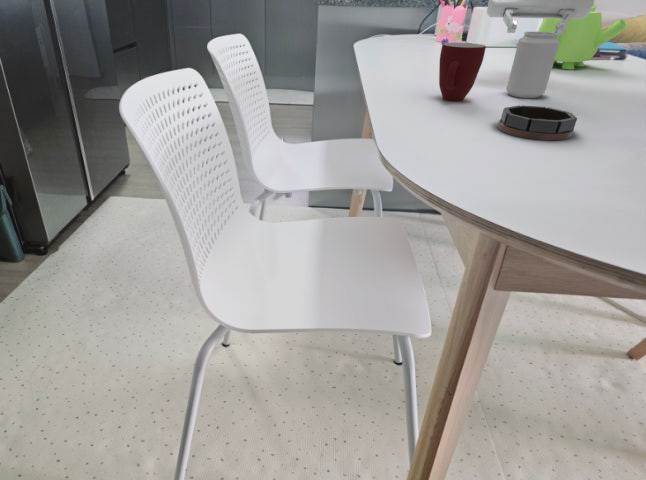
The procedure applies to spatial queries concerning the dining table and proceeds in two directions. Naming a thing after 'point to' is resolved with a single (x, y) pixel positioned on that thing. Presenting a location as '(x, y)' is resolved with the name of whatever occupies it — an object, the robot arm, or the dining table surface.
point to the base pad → (537, 122)
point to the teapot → (581, 37)
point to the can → (532, 64)
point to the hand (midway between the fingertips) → (535, 31)
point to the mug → (459, 69)
